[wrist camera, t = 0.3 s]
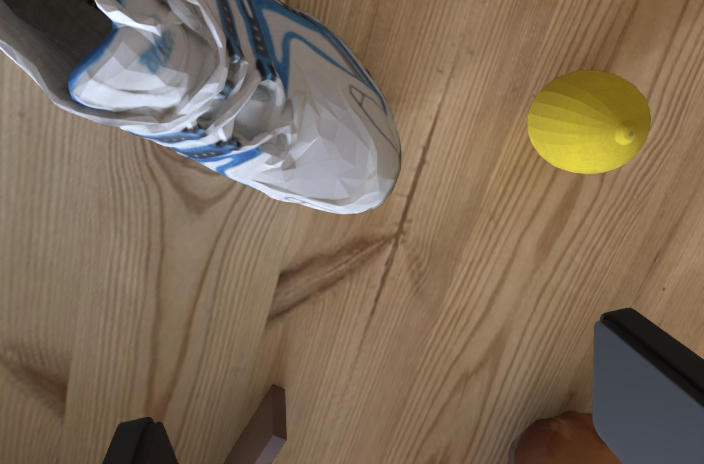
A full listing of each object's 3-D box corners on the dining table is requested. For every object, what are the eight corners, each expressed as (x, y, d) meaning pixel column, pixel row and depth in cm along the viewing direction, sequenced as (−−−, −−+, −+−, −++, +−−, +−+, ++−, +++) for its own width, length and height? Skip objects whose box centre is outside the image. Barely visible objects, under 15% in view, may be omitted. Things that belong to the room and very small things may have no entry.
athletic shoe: (353, 230, 32) (422, 263, 20) (-44, 69, 26) (-262, -13, 15) (414, 83, 32) (518, 32, 20) (27, -113, 26) (-136, -342, 14)
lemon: (508, 70, 30) (584, 77, 23) (593, 65, 31) (694, 70, 24) (502, 160, 32) (571, 194, 25) (583, 154, 33) (673, 185, 26)
